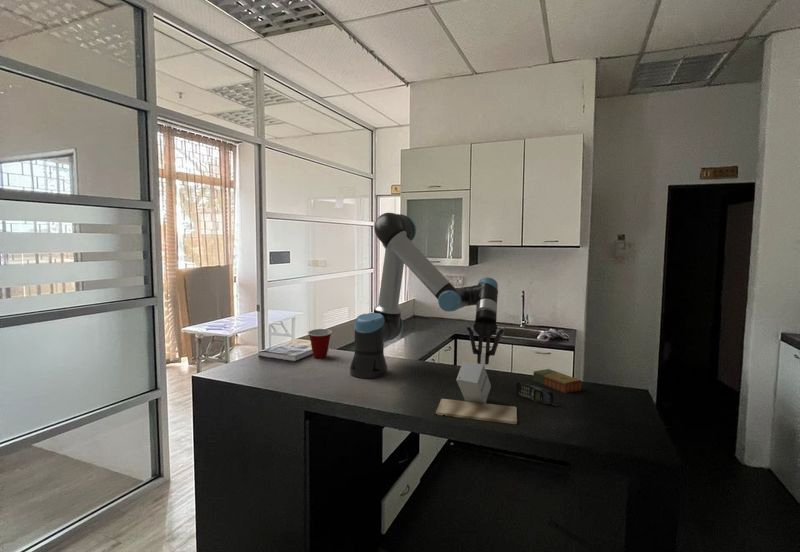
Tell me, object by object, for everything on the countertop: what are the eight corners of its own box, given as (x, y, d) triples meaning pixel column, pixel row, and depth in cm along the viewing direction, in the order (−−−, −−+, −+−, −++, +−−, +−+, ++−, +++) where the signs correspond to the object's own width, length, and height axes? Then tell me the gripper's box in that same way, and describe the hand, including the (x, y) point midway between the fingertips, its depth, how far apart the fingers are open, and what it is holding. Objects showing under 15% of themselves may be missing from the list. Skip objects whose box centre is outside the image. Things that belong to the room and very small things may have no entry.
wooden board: (435, 414, 129) (435, 412, 129) (441, 400, 140) (441, 398, 140) (516, 424, 123) (517, 421, 123) (516, 409, 134) (516, 406, 134)
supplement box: (485, 405, 137) (477, 384, 129) (464, 400, 141) (455, 379, 133) (492, 386, 141) (484, 364, 133) (471, 381, 145) (462, 360, 137)
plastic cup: (303, 359, 188) (304, 332, 187) (312, 353, 199) (313, 328, 198) (327, 360, 186) (327, 334, 185) (334, 354, 197) (335, 329, 196)
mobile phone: (515, 381, 147) (554, 392, 136) (520, 380, 149) (559, 391, 138) (514, 395, 148) (553, 408, 136) (520, 394, 150) (558, 406, 138)
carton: (564, 394, 150) (565, 382, 150) (532, 381, 165) (532, 370, 165) (581, 391, 154) (581, 379, 154) (548, 378, 168) (548, 368, 168)
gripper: (504, 321, 156) (502, 379, 141) (468, 319, 159) (463, 375, 144) (504, 309, 150) (502, 368, 135) (467, 307, 153) (461, 364, 138)
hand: (482, 372), depth 140 cm, fingers closed
